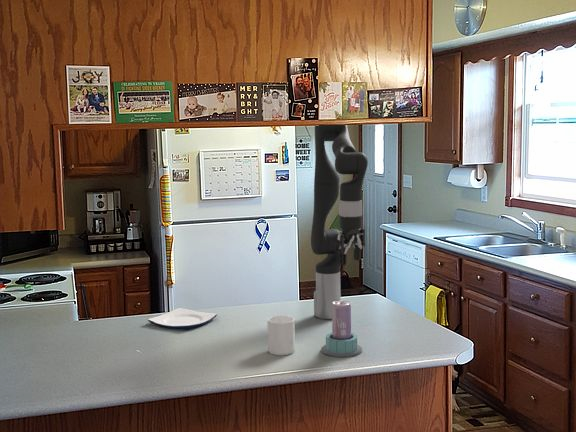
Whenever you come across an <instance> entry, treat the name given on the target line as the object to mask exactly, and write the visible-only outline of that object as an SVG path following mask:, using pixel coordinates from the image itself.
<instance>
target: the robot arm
mask: <svg viewBox="0 0 576 432" xmlns="http://www.w3.org/2000/svg"><path fill="white" fill-rule="evenodd" d="M325 142H332V144H331V148H332V153H333V155H334V156H335V159H334V165H333V163H332V161H331V160H330V158H329V156H328V153H327V150H326V145H325ZM314 151H315V152H314V155H315V156H314V157H315V158H314V161H315V163H314V178H313V179H314V180H313V215H312V225H311V233H310V234H311V235H310V247H311V250H312V253H313V254H315V255H317V256H319V255H320V256H321V255H327V256H326V257H325V258H324V259H322V260H321V261H319V262H317V263H316V265H315V290H314V291H313V315H314V317H316V318H318V319H322V320H332V305H333V302H335V301H342V300H341V297H342V295H341V267H342V266H347V264H348V263H347V262H348V261H347V260H348V259H347V258H348V257H347V256H348V254H347V252H348V250H349V249H350V248H351V246H352V247H353V248H354V249H353V260H354V261H361V259H362V258H361V257H362V255H361V254H362V252H361V251H362V249H363V247H365V245H366V233H365V228H363V201H362V197H363V195H362V194H363V193H362V191H363V184H364V178H365V175H366V172H367V168H368V165H369V163H368V162H369V161H368V157H367V155H366V154H365V153H364V152H359V151H358V152H357V149H356V148H355V146H354V144H353V142H352V141H351V136H350V133H349V129H348V124H347V125H319V126H315V125H314ZM339 174H340V175H354V177H353V179H350V180H346V181H343V182H341V184H340V176H339ZM338 198H339V205H338V206H339V207H338V211H339V212H338V227H339V229H341V231H340V230H339V229H338V228H326V227H325V226H326V221H327V218H328V216H329V214H330V212H331V211H332V209H333V207H334V206H335V204H336V202H337V200H338Z"/></svg>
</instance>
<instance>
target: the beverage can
mask: <svg viewBox="0 0 576 432" xmlns="http://www.w3.org/2000/svg"><path fill="white" fill-rule="evenodd" d="M331 320H332V322H331V323H332V325H331V326H332V329H331V330H332V332H331V333H332V334H333V339H336V340H348V339H351V333H352V305H351V302H350V301H348V300H341V301H335V302H333V305H332V319H331Z"/></svg>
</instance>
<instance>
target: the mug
mask: <svg viewBox="0 0 576 432" xmlns="http://www.w3.org/2000/svg"><path fill="white" fill-rule="evenodd" d="M266 323H267V351H268V352H269V354H271V355H274V356H287V355H288V356H289V355H292V354H293V353H294V352H295V350H296V349H295V348H296V345H295V343H296V341H295V340H296V339H295V338H296V337H295V336H296V335H295V332H296V331H295V317H293V316H288V315H276V316H271V317H268V318H267V322H266Z"/></svg>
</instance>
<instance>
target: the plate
mask: <svg viewBox="0 0 576 432" xmlns="http://www.w3.org/2000/svg"><path fill="white" fill-rule="evenodd" d="M217 316H218V313H217V312H216V313H214V312H203V311H198V310H191V309H188V308H187V309H186V308H184V307H178V308H176V309H173V310H171V311H169V312H166V313H164V314H160V315H158V316H154V317H151V318H147V321H148V322H149V323H151V324H154V325H156V326H159V327H162V328H166V329H172V330H173V329H174V330H175V329H176V330H187V329H188V330H189V329H194V328H197V327H200V326H202V325H203V326H204V325H205V324H207V323H209V322H210V321H212V320H214V319H215V318H216V317H217Z"/></svg>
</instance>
